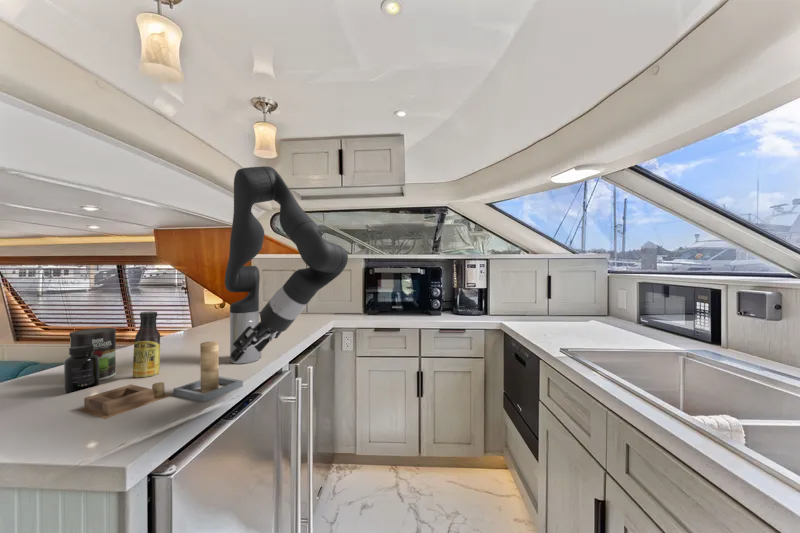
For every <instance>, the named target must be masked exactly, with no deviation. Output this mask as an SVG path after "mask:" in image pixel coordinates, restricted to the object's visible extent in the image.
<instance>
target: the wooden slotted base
mask: <svg viewBox="0 0 800 533" xmlns="http://www.w3.org/2000/svg"><path fill="white" fill-rule="evenodd" d="M151 387H152V388H147V387H144V386H140V385H139V386H138V385H135V384H128V385H123V386H121V387H117V388H113V389H110V390H107V391H104V392H99V393H96V394H93V395H90V396H86V397H84V398H83V399H84V400H83V401H84V403H83V405H84V407H82V408H79V409H77V411H79V412H82V413H85V414H88V415H91V416H95V417H97V418H101V419H104V420H107V419H110V418H111V417H115V416H117V415H121V414H123V413H126V412H129V411H131V410H135V409H137V408H141V407H143V406H147V405H149V404H152V403H155V402H158V401H161V400H163V399H167V398H169V397H172V396H173V394H172V393H167V392H165V382H164V381H163V382H162V381H160V382H155V383H153V384H152V385H151Z"/></svg>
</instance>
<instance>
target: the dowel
mask: <svg viewBox="0 0 800 533" xmlns="http://www.w3.org/2000/svg"><path fill="white" fill-rule="evenodd" d="M199 345H200V346H199V347H200V350H199V351H200V354H199V355H200V359H199V360H200V367H199V368H200V380H201V387H200V392H201V393H207V392H210V391H213V390H215V389H218V388H220V384H219V374H220V373H219V369H220V368H219V364H220V362H219V341H217V340H216V341H215V340H213V341H212V340H211V341H204V342H201V343H199Z"/></svg>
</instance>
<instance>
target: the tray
mask: <svg viewBox="0 0 800 533" xmlns="http://www.w3.org/2000/svg"><path fill="white" fill-rule="evenodd" d="M219 385H223V386H221V387H219V388H218V389H215V390H213V391H210V392H207V393H201V391H197V390H195V389H199V388H201V379H198V380H196V381H192V382H190V383H187V384H183V385H180V386H178V387H174V388H173V391H172V392H173V394H172V396H175V397H180V398H183V399H188V400H193V401H196V402H201V403H205V402H209V401H210V400H213V399H215V398H218V397H220V396H223V395H225V394H228V393H231V392H233V391H235V390H239V388H242V387H244V382H243V380H241V379H236V378H231V377H227V376H226V377H224V376H219Z"/></svg>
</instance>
